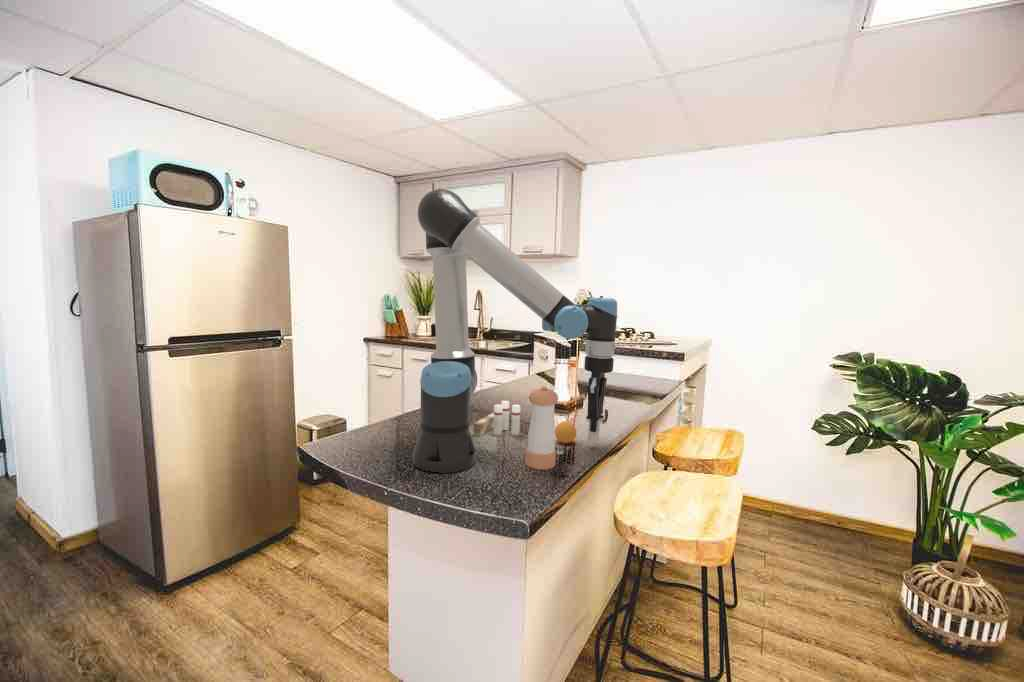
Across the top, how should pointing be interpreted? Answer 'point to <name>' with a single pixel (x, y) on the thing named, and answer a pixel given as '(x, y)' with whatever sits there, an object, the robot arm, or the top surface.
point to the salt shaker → (542, 430)
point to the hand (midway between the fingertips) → (593, 442)
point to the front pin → (515, 420)
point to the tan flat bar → (483, 425)
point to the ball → (565, 432)
